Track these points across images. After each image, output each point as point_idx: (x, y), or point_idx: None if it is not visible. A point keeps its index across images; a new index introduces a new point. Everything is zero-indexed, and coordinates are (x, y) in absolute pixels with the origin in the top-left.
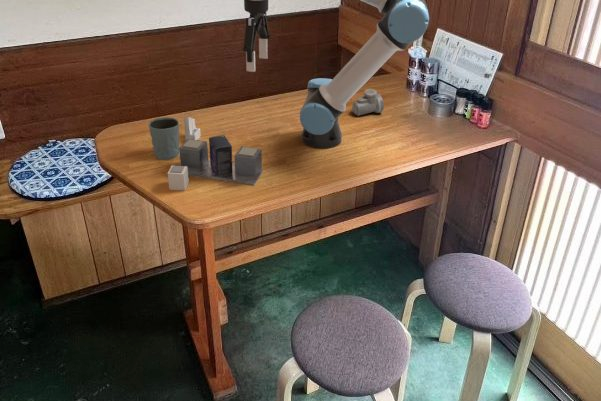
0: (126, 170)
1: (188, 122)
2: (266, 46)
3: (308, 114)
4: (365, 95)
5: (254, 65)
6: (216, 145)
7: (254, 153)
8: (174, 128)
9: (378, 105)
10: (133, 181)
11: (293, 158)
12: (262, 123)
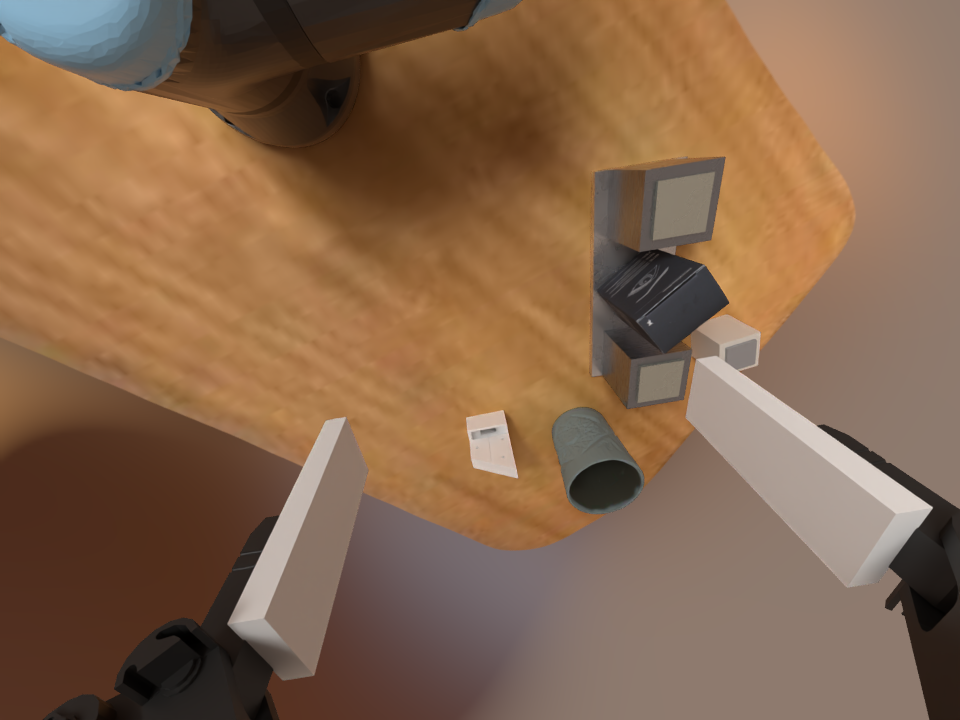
0: (661, 450)
1: (513, 457)
2: (305, 520)
3: None
4: None
5: (759, 388)
6: (714, 308)
7: (696, 175)
8: (619, 456)
9: None
10: None
11: (477, 103)
12: (304, 321)
